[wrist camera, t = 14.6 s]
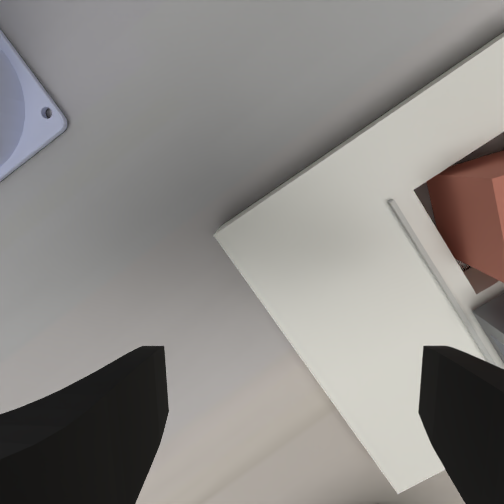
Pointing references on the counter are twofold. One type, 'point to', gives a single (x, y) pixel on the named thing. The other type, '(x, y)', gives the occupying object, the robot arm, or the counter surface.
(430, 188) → the plug
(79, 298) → the counter surface
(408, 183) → the socket board
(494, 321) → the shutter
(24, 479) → the robot arm
